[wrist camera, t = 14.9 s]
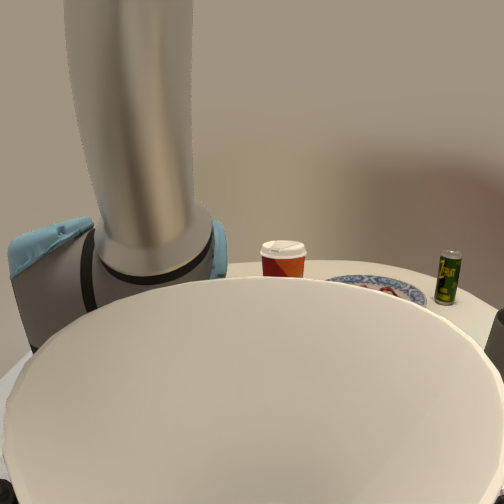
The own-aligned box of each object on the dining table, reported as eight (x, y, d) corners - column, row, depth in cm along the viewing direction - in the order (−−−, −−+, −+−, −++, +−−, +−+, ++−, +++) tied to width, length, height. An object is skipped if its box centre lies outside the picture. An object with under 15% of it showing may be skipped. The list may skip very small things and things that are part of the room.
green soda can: (436, 295, 64) (443, 247, 61) (455, 300, 61) (463, 251, 58) (431, 302, 61) (439, 251, 58) (451, 307, 57) (460, 256, 54)
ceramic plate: (422, 289, 69) (424, 278, 68) (427, 337, 47) (431, 322, 46) (329, 277, 81) (329, 267, 80) (297, 317, 58) (297, 304, 58)
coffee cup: (293, 336, 51) (295, 252, 48) (252, 326, 56) (250, 247, 52) (310, 317, 58) (313, 242, 55) (273, 309, 63) (273, 237, 59)
